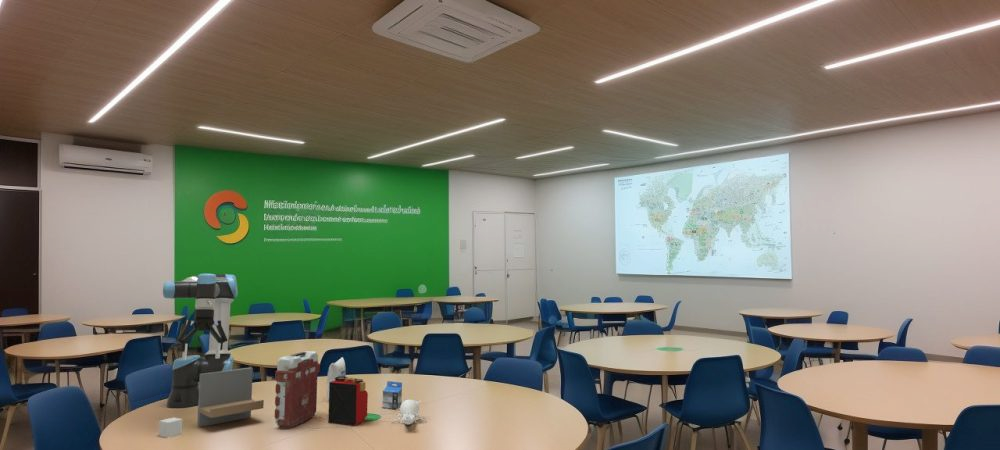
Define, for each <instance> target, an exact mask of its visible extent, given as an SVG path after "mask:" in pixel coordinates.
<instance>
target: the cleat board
mask: <svg viewBox="0 0 1000 450" xmlns="http://www.w3.org/2000/svg"><path fill="white" fill-rule="evenodd" d="M253 369H254V368H253V367H252V366H251V367H243V368H237V369H236V368H235V369H232V370H227V371H219V372H211V373H203V374H200V379H199V400H198V405H197V422H196V423H197V428H198V427H199V428H202V426H203V427H206V426H207V427H208V426H212V425H217V424H222V423H223V424H224V423H227V422H233V421H237V420H239V421H240V420H244V419H249V418H251V417H252V411H256V410H261V409H264V407H265V406H264V401H265V400H264V399H260V400H255V399H252V395H253V394H252V393H253V374H254V373H253V371H254V370H253Z"/></svg>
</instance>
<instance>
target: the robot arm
mask: <svg viewBox="0 0 1000 450" xmlns="http://www.w3.org/2000/svg"><path fill="white" fill-rule="evenodd" d="M238 290H239V289H238V283H237V277H236V275H235V274H227V273H224V274H221V273H219V274H214V273H200V274H197V275H193V276H190V277H189V276H188V277H186V278H184V279H183V280H179V281H174V280H173V281H172V280H171V281H165V282H164V283H163V287H162V296H163V298H165V299H195V304H194V309H195V310H194V319H193V320H191V319H188V320H187V319H186V320H185V324H184V327H183V328H182V330H181V332H180V334H179V335H178V337H177V338H176V341H175V342H176V343H179V344H180V348H179V349H180V352H182V354H181V355H182V356H181V357H179V358H176V359H174V360H173V365H172V376H171V377H172V378H171V380H172V381H171V391H170V392H169V396H168V398H167V401H166V407H167V408H172V409H173V408H175V409H178V408H179V409H180V408H191V407H195V406H198V400H199V379H200V374H203V373H211V372H219V371H227V370H233V365H234V357H233V356H232V354H231V352H230V351H229V349H228V347H229V333H230V320H231V319H230V317H231V304H232V303H233V302H234V300H235V298H236V297H238V296H239V295H238V294H239V293H238ZM192 325H193V328H192V329H191V331H189V330H190V327H191V326H192ZM188 331H189V333H188ZM198 331H199V332H207V331H208V332H209V342H208V343H209V344H208V345H209V346H208V351H207V352H205V354H204V357H201V356H200V354H194V355H188V344H189V343H187V342H188V341H189V340H190V339H191V338H192V337H193V336H194V335H195V334H196V333H197V332H198Z"/></svg>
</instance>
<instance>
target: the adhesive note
mask: <svg viewBox="0 0 1000 450" xmlns="http://www.w3.org/2000/svg"><path fill="white" fill-rule="evenodd" d="M183 422H184V421H183V418H179V417H174V416H173V417H169V418H165V419H161V420H159V421H158V437H163V438H167V439H169V438H173V437H176V436H179V434H180V435H182V434H183ZM175 435H176V436H175ZM172 436H173V437H172ZM168 437H169V438H168Z"/></svg>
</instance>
